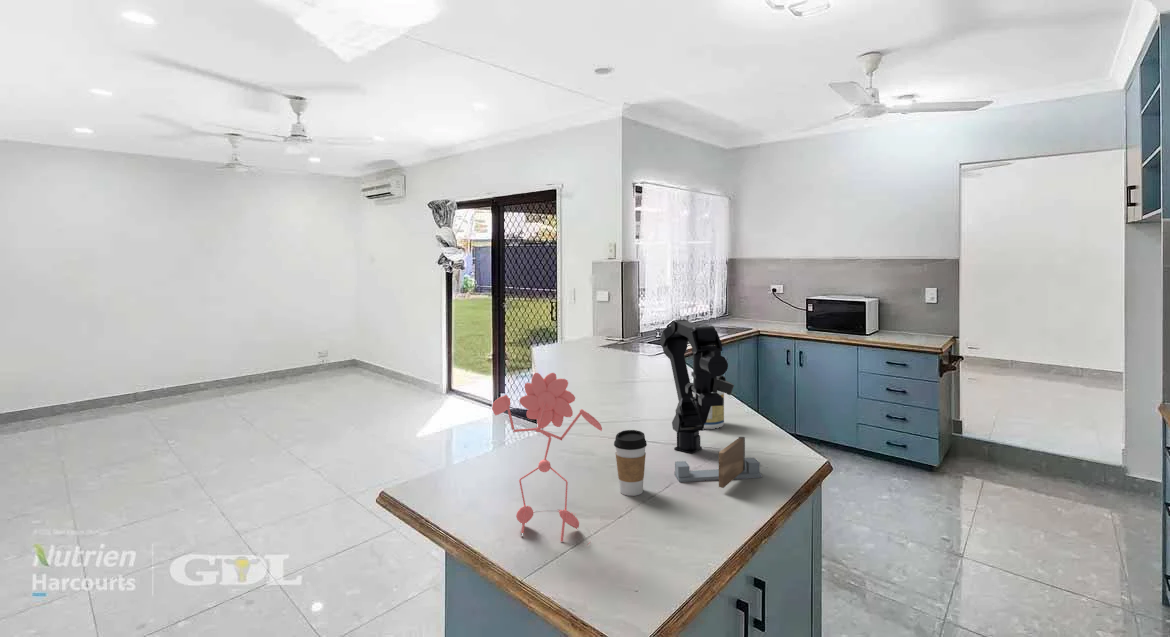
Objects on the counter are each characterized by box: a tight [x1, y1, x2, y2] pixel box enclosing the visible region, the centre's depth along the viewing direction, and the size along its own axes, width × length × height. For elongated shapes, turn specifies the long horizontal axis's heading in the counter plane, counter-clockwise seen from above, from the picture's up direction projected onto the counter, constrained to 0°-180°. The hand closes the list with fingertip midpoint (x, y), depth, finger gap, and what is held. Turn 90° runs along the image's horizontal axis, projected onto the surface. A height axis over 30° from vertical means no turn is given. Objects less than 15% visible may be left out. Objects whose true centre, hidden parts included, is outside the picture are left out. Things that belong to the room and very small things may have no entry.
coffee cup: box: [613, 429, 648, 497], centre depth 139 cm, size 8×8×15 cm
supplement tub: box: [691, 378, 725, 430], centre depth 196 cm, size 12×12×17 cm
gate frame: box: [674, 457, 762, 483], centre depth 148 cm, size 5×23×4 cm, turn 94°
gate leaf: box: [718, 436, 746, 489], centre depth 143 cm, size 2×15×9 cm, turn 144°
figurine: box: [491, 372, 603, 546], centre depth 121 cm, size 15×26×35 cm, turn 74°
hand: (703, 423), depth 157 cm, fingers closed
